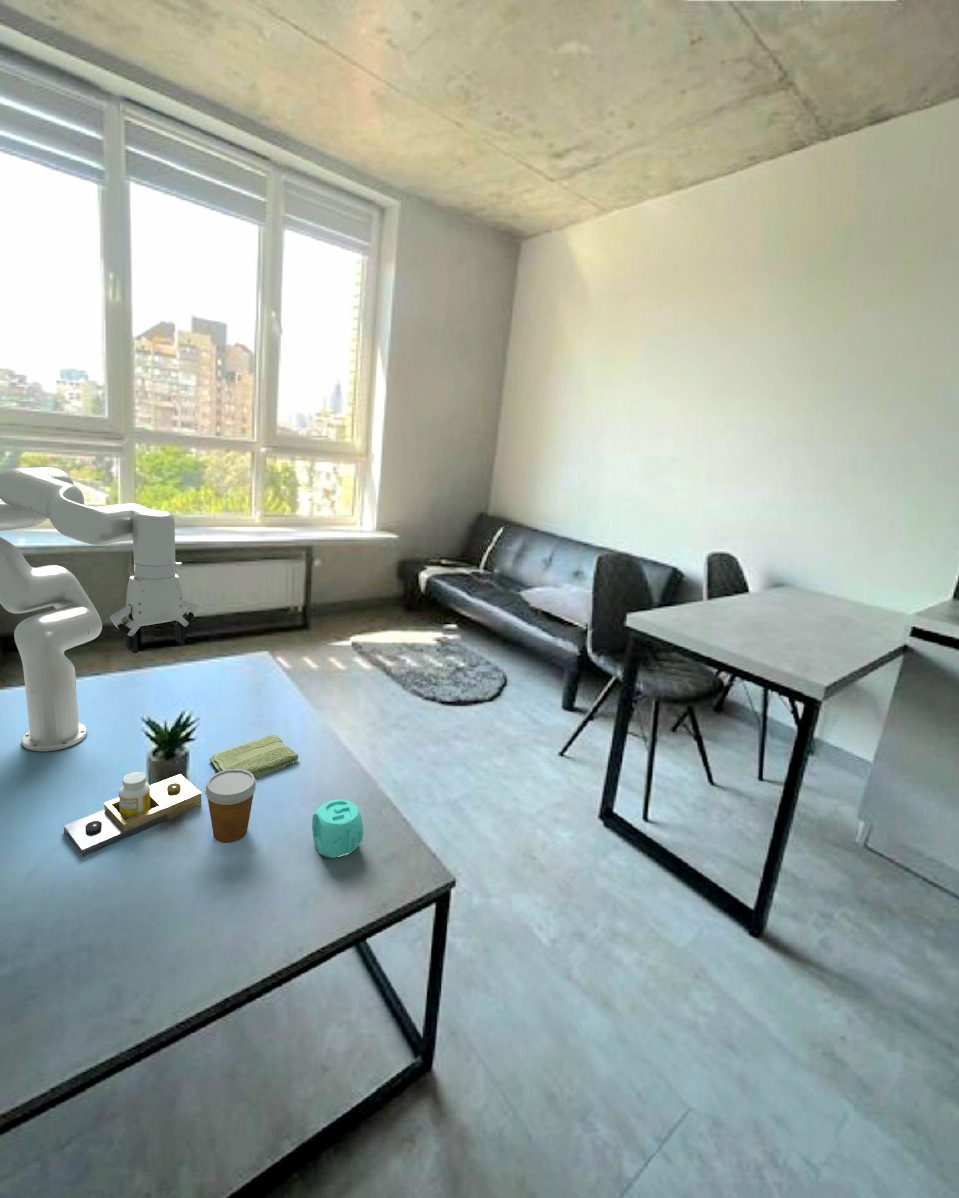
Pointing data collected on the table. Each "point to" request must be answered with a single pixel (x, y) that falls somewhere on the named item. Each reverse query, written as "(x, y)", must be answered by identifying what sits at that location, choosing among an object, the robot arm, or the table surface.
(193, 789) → the holed plate
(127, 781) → the supplement bottle
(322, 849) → the decorative dice
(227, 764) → the washcloth
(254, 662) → the table surface
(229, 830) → the disposable coffee cup
